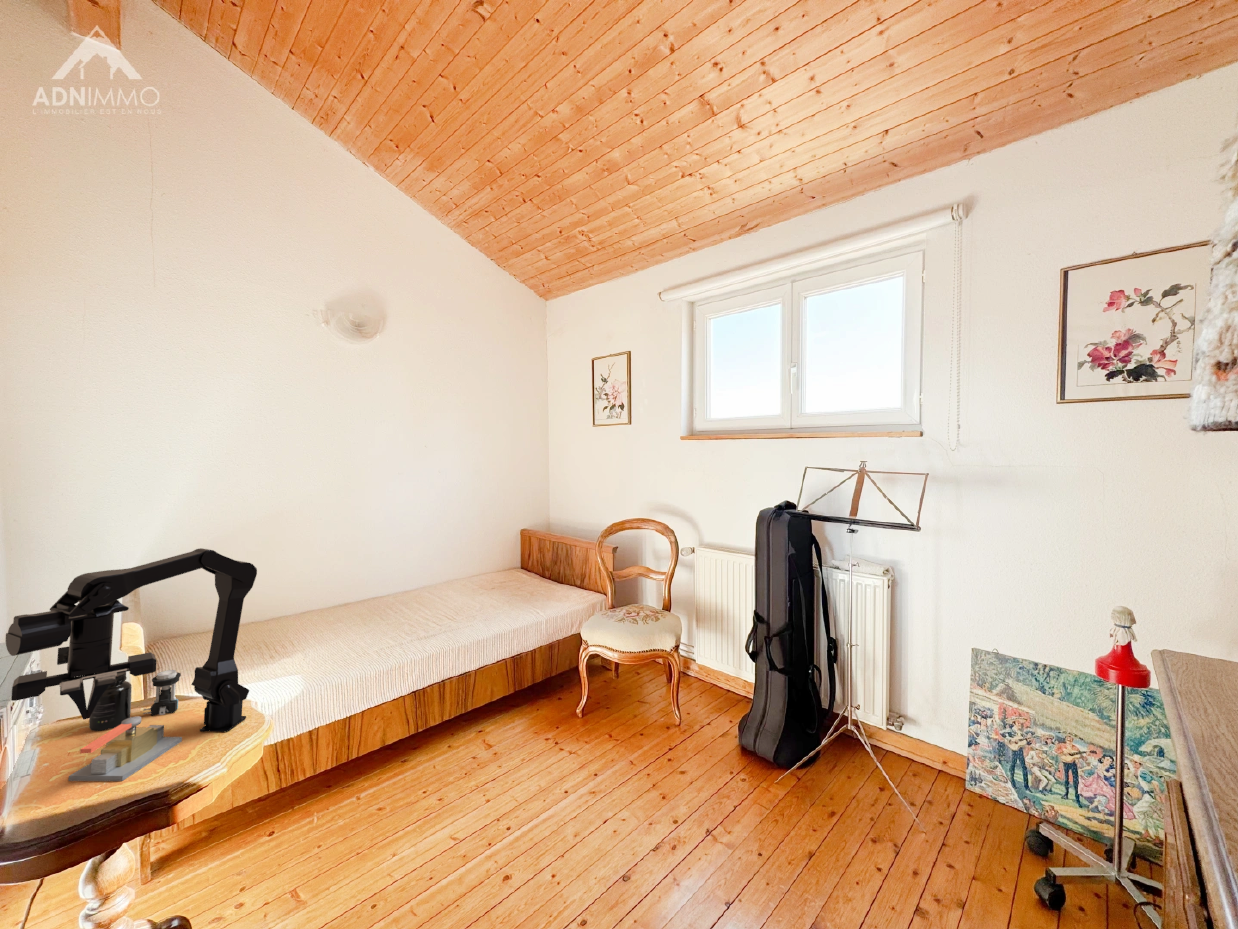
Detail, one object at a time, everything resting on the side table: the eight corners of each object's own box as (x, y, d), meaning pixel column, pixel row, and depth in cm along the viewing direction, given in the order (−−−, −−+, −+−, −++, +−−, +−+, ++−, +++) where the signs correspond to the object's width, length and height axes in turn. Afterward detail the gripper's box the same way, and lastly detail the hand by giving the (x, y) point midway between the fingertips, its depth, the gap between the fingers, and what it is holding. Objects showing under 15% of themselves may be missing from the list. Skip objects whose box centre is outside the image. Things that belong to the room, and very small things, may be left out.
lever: (128, 721, 103) (129, 716, 103) (145, 720, 104) (145, 716, 104) (76, 754, 91) (76, 749, 91) (94, 753, 92) (95, 748, 92)
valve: (168, 740, 109) (170, 711, 109) (111, 777, 96) (113, 744, 96) (145, 740, 108) (146, 711, 108) (84, 777, 95) (86, 744, 95)
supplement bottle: (98, 720, 116) (101, 670, 117) (135, 715, 119) (138, 666, 119) (81, 734, 110) (84, 682, 110) (121, 729, 113) (124, 677, 113)
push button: (138, 720, 117) (141, 679, 117) (147, 710, 122) (149, 671, 122) (174, 715, 120) (176, 675, 120) (181, 705, 125) (184, 667, 125)
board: (181, 741, 109) (182, 737, 109) (122, 781, 95) (122, 776, 95) (135, 741, 109) (135, 736, 109) (68, 781, 95) (68, 776, 95)
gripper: (152, 619, 107) (148, 690, 106) (18, 638, 93) (13, 720, 92) (158, 632, 99) (154, 707, 99) (14, 655, 85) (8, 743, 85)
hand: (86, 718), depth 94 cm, fingers closed
